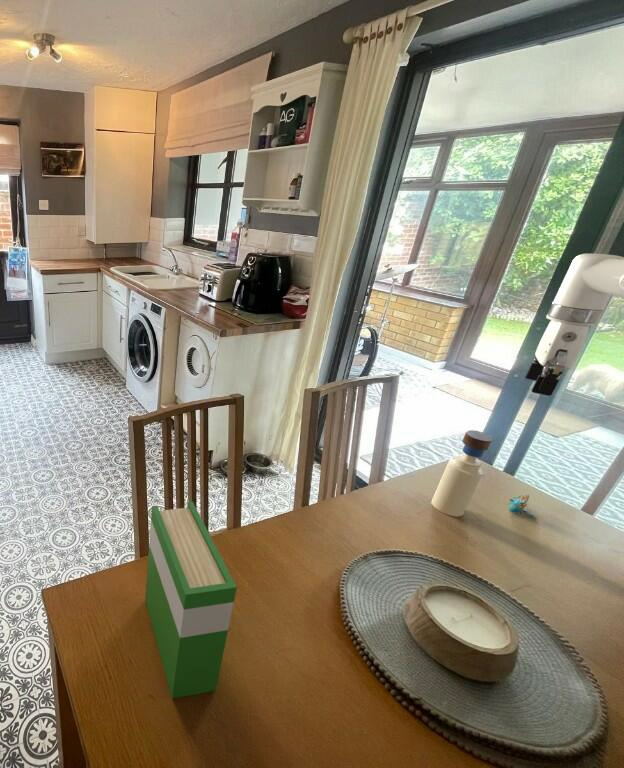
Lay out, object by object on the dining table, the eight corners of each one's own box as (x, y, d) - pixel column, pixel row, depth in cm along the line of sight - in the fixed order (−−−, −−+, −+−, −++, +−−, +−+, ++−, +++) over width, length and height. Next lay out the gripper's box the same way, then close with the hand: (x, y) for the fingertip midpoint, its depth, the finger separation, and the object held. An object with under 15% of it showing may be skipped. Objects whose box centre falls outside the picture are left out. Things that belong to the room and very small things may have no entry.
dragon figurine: (486, 490, 112) (509, 499, 104) (516, 483, 111) (541, 492, 103) (494, 513, 112) (517, 524, 104) (524, 507, 111) (550, 517, 103)
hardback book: (145, 600, 81) (151, 505, 71) (180, 595, 82) (192, 501, 72) (171, 698, 65) (185, 594, 55) (215, 690, 66) (236, 587, 56)
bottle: (463, 505, 108) (493, 443, 100) (463, 520, 103) (495, 456, 95) (431, 495, 111) (458, 434, 103) (430, 508, 106) (458, 446, 98)
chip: (487, 443, 99) (492, 434, 98) (489, 452, 96) (493, 443, 95) (461, 436, 102) (465, 427, 101) (462, 445, 99) (466, 436, 97)
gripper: (610, 326, 79) (567, 404, 86) (588, 309, 92) (552, 378, 99) (556, 319, 83) (520, 394, 90) (542, 304, 96) (511, 371, 103)
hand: (537, 386), depth 95 cm, fingers open, 9 cm apart
